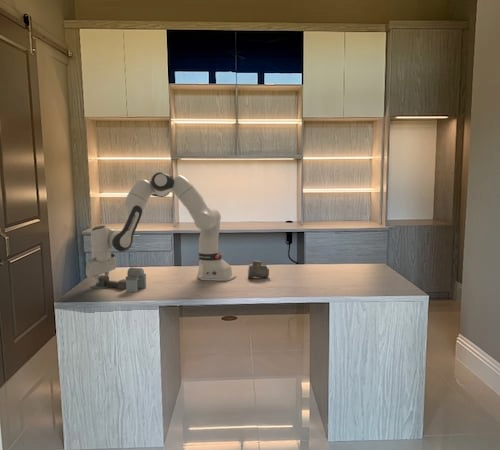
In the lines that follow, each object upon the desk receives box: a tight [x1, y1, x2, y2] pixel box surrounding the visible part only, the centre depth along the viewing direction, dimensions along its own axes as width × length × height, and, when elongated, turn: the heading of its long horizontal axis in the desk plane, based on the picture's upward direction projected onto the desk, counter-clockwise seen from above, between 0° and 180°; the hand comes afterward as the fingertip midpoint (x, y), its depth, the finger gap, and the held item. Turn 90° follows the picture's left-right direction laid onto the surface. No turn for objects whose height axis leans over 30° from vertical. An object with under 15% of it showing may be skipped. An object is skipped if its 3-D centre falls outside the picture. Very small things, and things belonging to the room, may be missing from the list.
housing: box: [125, 266, 147, 293], centre depth 230 cm, size 6×9×12 cm, turn 159°
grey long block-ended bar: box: [95, 274, 126, 290], centre depth 236 cm, size 20×4×4 cm, turn 69°
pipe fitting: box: [247, 260, 270, 279], centre depth 251 cm, size 12×8×10 cm
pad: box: [89, 283, 109, 290], centre depth 238 cm, size 9×9×1 cm
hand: (101, 281), depth 238 cm, fingers closed on grey long block-ended bar, 4 cm apart
